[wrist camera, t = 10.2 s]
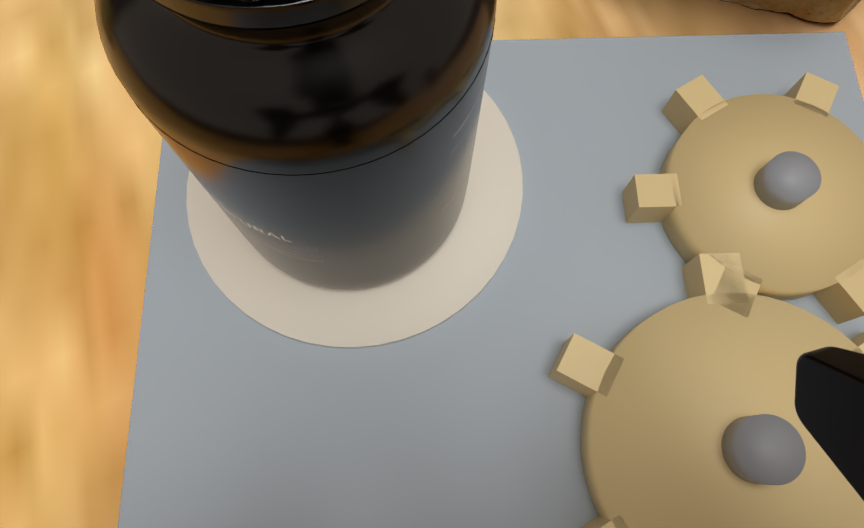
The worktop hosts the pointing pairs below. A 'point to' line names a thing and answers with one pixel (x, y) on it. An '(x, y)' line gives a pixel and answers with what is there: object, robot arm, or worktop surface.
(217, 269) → the pad
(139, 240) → the worktop surface
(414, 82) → the supplement bottle
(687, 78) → the gear board
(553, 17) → the worktop surface
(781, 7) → the rock
